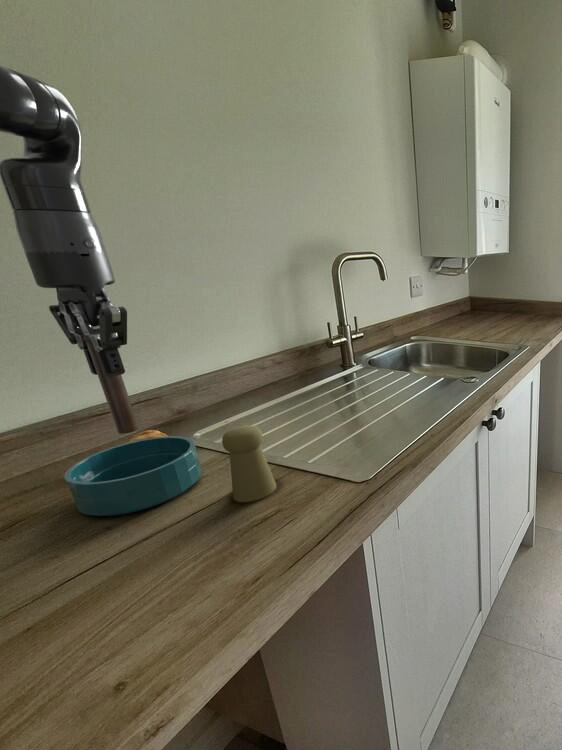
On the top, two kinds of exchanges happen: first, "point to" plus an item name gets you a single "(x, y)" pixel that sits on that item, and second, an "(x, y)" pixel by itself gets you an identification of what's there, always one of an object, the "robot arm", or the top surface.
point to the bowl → (133, 476)
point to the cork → (248, 464)
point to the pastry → (147, 435)
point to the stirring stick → (115, 397)
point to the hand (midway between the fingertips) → (109, 373)
